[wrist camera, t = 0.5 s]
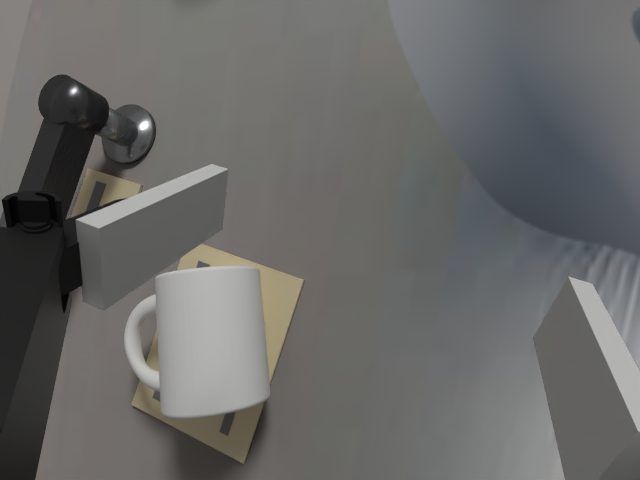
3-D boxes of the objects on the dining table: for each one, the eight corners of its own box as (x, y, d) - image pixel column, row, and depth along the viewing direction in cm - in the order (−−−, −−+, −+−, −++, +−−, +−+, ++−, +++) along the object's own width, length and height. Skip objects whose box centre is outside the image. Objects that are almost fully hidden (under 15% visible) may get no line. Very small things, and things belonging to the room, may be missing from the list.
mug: (274, 268, 35) (228, 262, 27) (286, 389, 33) (240, 417, 26) (157, 285, 38) (86, 284, 31) (162, 396, 37) (88, 423, 29)
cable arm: (82, 90, 37) (48, 70, 34) (115, 98, 36) (83, 79, 33) (32, 231, 37) (-8, 225, 34) (64, 244, 36) (26, 240, 32)
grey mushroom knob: (144, 170, 40) (108, 155, 36) (98, 156, 42) (59, 140, 38) (163, 113, 41) (130, 91, 36) (117, 102, 42) (81, 80, 38)
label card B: (245, 462, 34) (242, 464, 34) (133, 403, 38) (130, 405, 37) (304, 280, 35) (303, 280, 34) (189, 239, 38) (186, 239, 38)
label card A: (113, 272, 40) (110, 271, 40) (61, 251, 42) (58, 250, 42) (143, 185, 40) (140, 184, 40) (90, 168, 42) (87, 167, 42)
